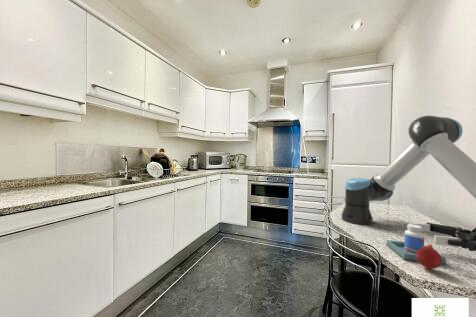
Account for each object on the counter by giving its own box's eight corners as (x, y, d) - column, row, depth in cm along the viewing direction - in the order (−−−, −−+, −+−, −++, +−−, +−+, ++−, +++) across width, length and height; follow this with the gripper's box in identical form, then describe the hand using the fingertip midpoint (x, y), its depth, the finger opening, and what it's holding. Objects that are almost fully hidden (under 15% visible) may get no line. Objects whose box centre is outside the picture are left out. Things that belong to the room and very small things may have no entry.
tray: (386, 245, 82) (386, 240, 82) (421, 248, 80) (421, 243, 80) (404, 260, 70) (404, 253, 70) (445, 264, 68) (445, 258, 68)
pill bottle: (424, 257, 71) (425, 229, 71) (404, 253, 74) (405, 226, 74) (422, 252, 75) (423, 225, 75) (404, 247, 79) (404, 222, 78)
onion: (432, 275, 61) (433, 249, 61) (411, 265, 66) (412, 241, 66) (445, 273, 63) (446, 247, 62) (424, 263, 68) (425, 239, 68)
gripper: (538, 269, 57) (447, 259, 62) (462, 236, 82) (401, 230, 86) (539, 243, 57) (448, 234, 62) (463, 217, 81) (402, 213, 86)
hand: (421, 232), depth 74 cm, fingers open, 13 cm apart
